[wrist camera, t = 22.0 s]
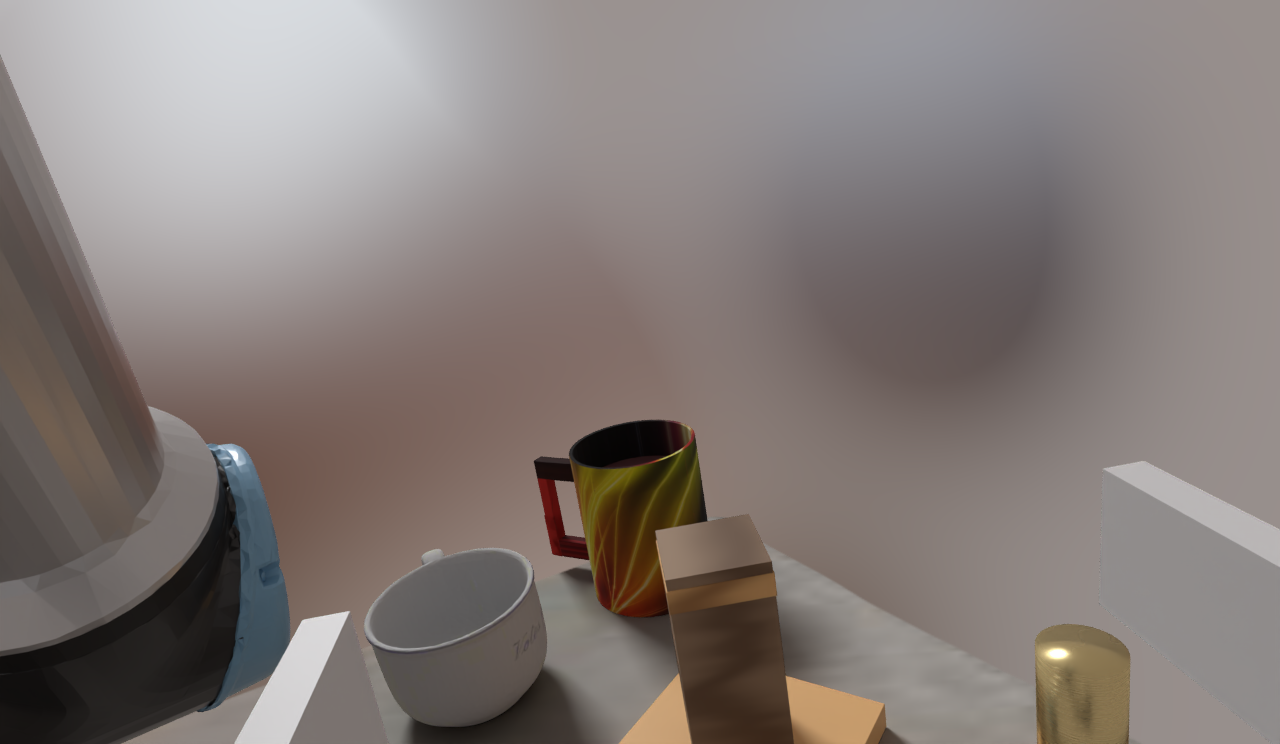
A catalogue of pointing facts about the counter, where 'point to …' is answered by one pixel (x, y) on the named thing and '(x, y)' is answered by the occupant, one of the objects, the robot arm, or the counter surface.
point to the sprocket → (1081, 686)
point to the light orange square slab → (821, 717)
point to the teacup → (460, 636)
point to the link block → (726, 632)
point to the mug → (626, 506)
